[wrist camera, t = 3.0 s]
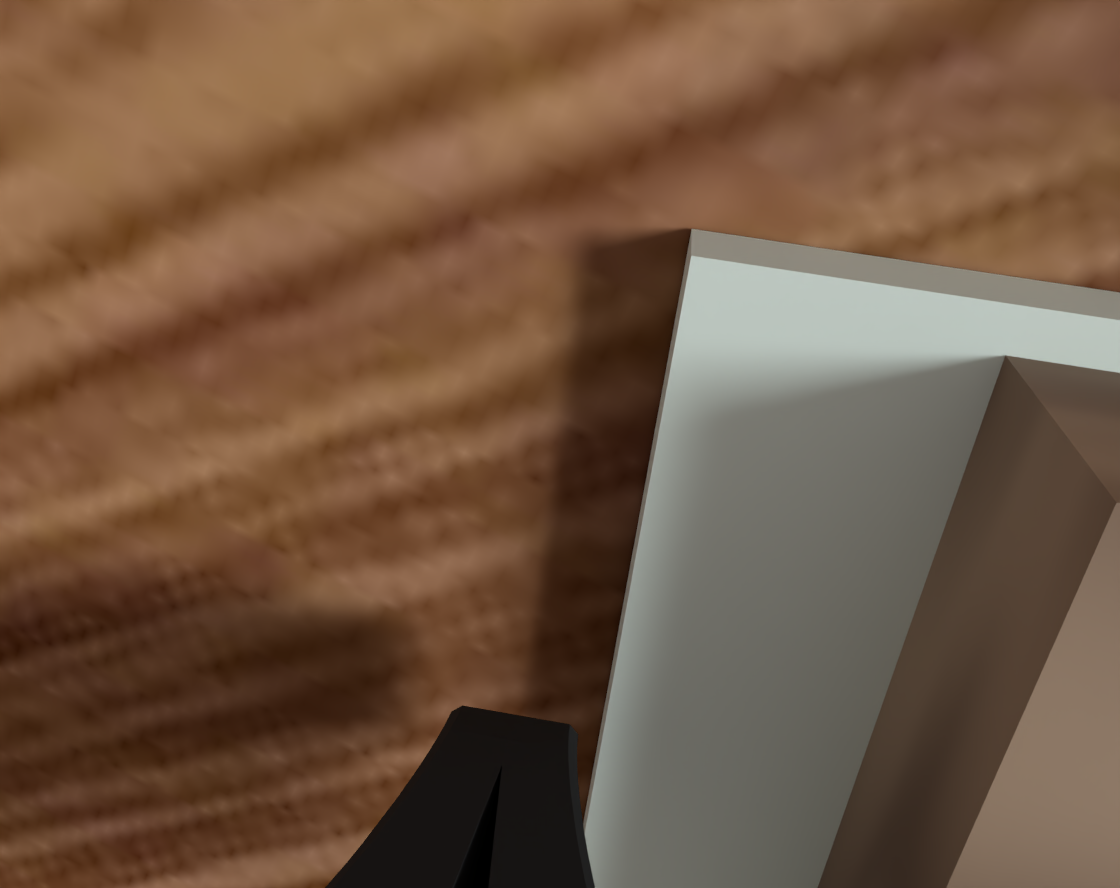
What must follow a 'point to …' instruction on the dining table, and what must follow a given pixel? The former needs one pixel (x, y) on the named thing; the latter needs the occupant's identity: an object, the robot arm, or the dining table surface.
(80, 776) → the dining table surface
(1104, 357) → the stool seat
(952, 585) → the folding leg
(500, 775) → the robot arm
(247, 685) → the dining table surface
